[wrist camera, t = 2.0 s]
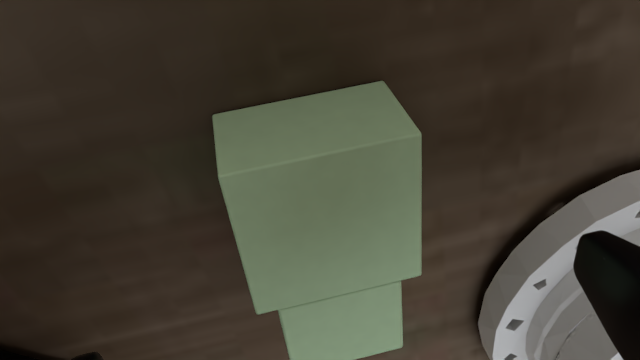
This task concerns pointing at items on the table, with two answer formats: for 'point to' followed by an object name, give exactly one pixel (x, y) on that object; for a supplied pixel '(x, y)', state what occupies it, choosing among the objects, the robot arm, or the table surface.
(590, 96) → the table surface
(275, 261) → the pad
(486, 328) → the mechanical component
